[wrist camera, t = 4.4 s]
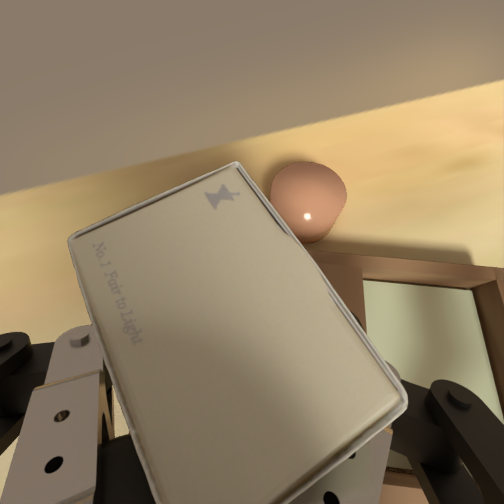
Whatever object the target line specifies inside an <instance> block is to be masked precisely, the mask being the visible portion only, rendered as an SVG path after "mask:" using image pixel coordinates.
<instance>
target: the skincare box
mask: <svg viewBox="0 0 504 504" xmlns="http://www.w3.org/2000/svg"><path fill="white" fill-rule="evenodd" d="M68 247H69V251H70V254H71V258H72V261H73V266H74V268H75V271H76V275H77V279H78V283H79V287H80V289H81V292H82V295H83V298H84V301H85V304H86V308H87V311H88V314H89V317H90V320H91V322H92V325H93V328H94V332H95V335H96V338H97V341H98V344H99V347H100V350H101V353H102V356H103V359H104V362H105V365H106V367H107V369H108V372H109V375H110V377H111V380H112V383H113V386H114V389H115V392H116V396H117V400H118V402H119V404H120V406H121V409H122V412H123V415H124V417H125V420H126V423H127V426H128V428H129V431H130V434H131V437H132V440H133V443H134V446H135V449H136V452H137V454H138V457H139V459H140V462H141V464H142V467H143V469H144V472H145V474H146V477H147V480H148V483H149V486H150V489H151V492H152V495H153V497H154V500H155V502H156V504H288V503H290V502H291V501H292V500H293V499H295V498H296V497H297V496H298V495H300V494H301V493H303V492H304V491H305V490H307V489H308V488H309V487H310V486H312V485H313V484H314V483H315V482H316V481H318V480H319V479H320V478H322V477H323V476H324V475H326V474H327V473H328V472H330V471H331V470H332V469H334V468H335V467H336V466H338V465H339V464H340V463H342V462H343V461H344V460H346V459H347V458H348V457H349V456H351V455H352V454H353V453H354V452H356V451H357V450H358V449H359V448H360V447H362V446H363V445H364V444H365V443H366V442H368V441H369V440H370V439H371V438H373V437H374V436H375V435H376V434H377V433H379V432H380V431H381V430H383V429H384V428H385V427H387V426H388V425H389V424H390V423H391V422H393V421H394V420H395V419H396V418H398V417H399V416H400V415H401V414H402V413H404V411H405V410H406V409H407V406H408V396H407V393H406V391H405V389H404V387H403V385H402V384H401V383H400V381H399V380H398V379H397V377H396V376H395V374H394V373H393V371H392V370H391V369H390V367H389V366H388V364H387V363H386V361H385V360H384V359H383V357H382V356H381V354H380V353H379V352H378V350H377V349H376V347H375V346H374V344H373V343H372V341H371V340H370V338H369V337H368V335H367V334H366V333H365V331H364V330H363V329H362V327H361V326H360V325H359V323H358V322H357V321H356V319H355V318H354V316H353V315H352V313H351V312H350V310H349V309H348V308H347V306H346V305H345V303H344V302H343V301H342V299H341V298H340V296H339V295H338V294H337V292H336V291H335V289H334V288H333V287H332V285H331V284H330V282H329V281H328V279H327V278H326V277H325V275H324V274H323V272H322V271H321V269H320V268H319V267H318V265H317V264H316V262H315V261H314V260H313V258H312V257H311V256H310V255H309V253H308V252H307V251H306V249H305V248H304V247H303V245H302V244H301V243H300V241H299V240H298V239H297V238H296V236H295V235H294V234H293V232H292V231H291V229H290V228H289V227H288V225H287V224H286V223H285V221H284V220H283V219H282V218H281V216H280V215H279V214H278V212H277V211H276V210H275V208H274V207H273V206H272V204H271V203H270V202H269V200H268V199H267V198H266V196H265V195H264V194H263V192H262V191H261V190H260V189H259V187H258V186H257V184H256V183H255V182H254V181H253V180H252V178H251V177H250V176H249V174H248V173H247V171H246V170H245V169H244V167H243V166H242V165H241V163H239V162H238V161H234V162H231V163H229V164H227V165H225V166H223V167H221V168H219V169H216V170H214V171H211V172H209V173H206V174H204V175H202V176H199V177H197V178H195V179H193V180H190V181H187V182H186V183H184V184H181V185H179V186H176V187H174V188H172V189H170V190H168V191H165V192H163V193H161V194H158V195H156V196H154V197H152V198H150V199H147V200H145V201H143V202H140V203H137V204H135V205H133V206H131V207H129V208H127V209H124V210H122V211H121V212H119V213H116V214H114V215H112V216H110V217H108V218H105V219H103V220H101V221H99V222H97V223H95V224H92V225H90V226H88V227H86V228H84V229H82V230H79V231H77V232H75V233H74V234H72V235H71V236H70V237H69V238H68Z"/></svg>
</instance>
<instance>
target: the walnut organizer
mask: <svg viewBox="0 0 504 504" xmlns="http://www.w3.org/2000/svg"><path fill="white" fill-rule="evenodd" d="M306 251H307V252H308V253H309V255H310V256H311V257H312V258H313V260H314V261H315V262H316V264H317V265H318V267H319V268H320V269H321V271H322V272H323V274H324V275H325V277H326V278H327V279H328V281H329V282H330V284H331V285H332V287H333V288H334V289H335V291H336V292H337V294H338V295H339V296H340V298H341V299H342V301H343V302H344V303H345V305H346V306H347V308H348V309H349V310H350V311H351V312H352V313H354V314H355V315H356V316H357V317H358V319H359V320H360V322H361V324H362V327H363V328H364V330H365V332H366V334H367V335H368V337H369V338H370V340H371V341H372V343H373V344H374V346H375V347H376V349H377V350H378V352H379V353H380V354H381V356H382V357H383V359H384V360H385V361H387V362H388V363H390V364H391V365H392V366H393V367H394V368H395V369H396V370H397V371H398V373H399V375H400V378H401V379H403V380H405V381H408V382H410V383H413V384H416V385H419V386H422V387H425V388H428V389H429V388H430V386H431V384H432V382H433V381H435V380H439V379H444V380H449V381H453V382H455V383H458V384H460V385H462V386H464V387H466V388H467V389H469V390H471V391H472V392H473V393H475V394H476V395H477V396H478V397H479V398H480V399H481V400H482V401H483V402H484V403H485V404H486V405H487V406H488V408H489V409H490V410H491V411H492V412H493V413H494V414H495V415H496V417H497V418H498V419H499V420H500V421H501V422H502V423H503V424H504V268H497V267H486V266H475V265H464V264H453V263H442V262H431V261H420V260H409V259H398V258H387V257H376V256H365V255H354V254H343V253H332V252H321V251H310V250H306ZM363 278H364V279H375V280H386V281H396V282H407V283H417V284H428V285H438V286H449V287H460V288H470V289H471V291H470V290H459V289H449V288H438V287H428V286H417V285H407V284H396V283H386V282H375V281H365V280H363ZM129 434H130V431H129ZM463 464H464V463H463ZM464 466H465V464H464ZM386 467H394V468H402V469H410V470H413V469H412V467H411V465H410V463H409V461H408V459H407V457H406V456H404V455H402V454H400V453H397V452H395V451H393V450H390V449H389V454H388V459H387V464H386ZM465 468H466V469H467V467H466V466H465ZM467 471H468V469H467ZM468 472H469V471H468ZM469 474H470V472H469ZM470 475H471V474H470ZM471 477H472V475H471ZM475 483H476V482H475ZM476 485H477V483H476ZM477 486H478V485H477ZM478 488H479V486H478ZM479 489H480V488H479ZM480 491H481V490H480ZM378 504H429V503H428V501H427V499H426V496H425V494H424V492H423V490H422V488H421V486H420V484H419V482H418V480H417V477H416V475H415V474H409V473H401V472H393V471H385V474H384V479H383V484H382V489H381V494H380V498H379V503H378Z"/></svg>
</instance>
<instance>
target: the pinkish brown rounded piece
mask: <svg viewBox="0 0 504 504" xmlns="http://www.w3.org/2000/svg"><path fill="white" fill-rule="evenodd" d="M346 198H347V193H346V188H345V185H344V183H343V181H342V180H341V178H340V177H339V176H338V175H337V174H336V173H335V172H334V171H333V170H331V169H330V168H328V167H326V166H324V165H321V164H318V163H314V162H298V163H294V164H291V165H288V166H286V167H284V168H283V169H282V170H280V171H279V172H278V173H277V175H276V176H275V178H274V179H273V182H272V186H271V194H270V203H271V204H272V206H273V207H274V208H275V210H276V211H277V212H278V214H279V215H280V216H281V218H282V219H283V220H284V221H285V223H286V224H287V225H288V227H289V228H290V229H291V231H292V232H293V234H294V235H295V236H296V238H297V239H298V240H299V241H300V243H301V244H306V243H313V242H316V241H318V240H320V239H322V238H323V237H325V236H326V235H327V234H328V233H329V231H330V230H331V228H332V226H333V225H334V223H335V221H336V220H337V218H338V216H339V214H340V213H341V211H342V209H343V207H344V205H345V203H346Z"/></svg>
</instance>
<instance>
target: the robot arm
mask: <svg viewBox="0 0 504 504" xmlns="http://www.w3.org/2000/svg"><path fill="white" fill-rule="evenodd" d="M350 312H351V311H350ZM351 313H352V312H351ZM352 315H353V316H354V318H355V319H356V321H357V322H358V323H359V325H360V326H361V327H362V324H361V322H360V320H359V319H358V317H357V316H356V315H355V314H354V313H352ZM362 329H363V330H364V328H363V327H362ZM364 331H365V330H364ZM365 333H366V332H365ZM386 363H387V364H388V366H389V367H390V369H391V370H392V371H393V373H394V374H395V376H396V377H397V379H398V380H399V381H400V383H401V384H402V385H403V387H404V389H405V391H406V393H407V396H408V406H407V409H406V410H405V411H404V413H402V414H401V415H400V416H399V417H398V418H396V419H395V420H394V421H393V422H391V423H390V424H389V425H388V426H387V427H385V428H384V429H383V430H381V431H380V432H379V433H377V434H376V435H375V436H374V437H373V438H371V439H370V440H369V441H368V442H366V443H365V444H364V445H363V446H362V447H360V448H359V449H358V450H357V451H356V452H354V453H353V454H352V455H351V456H349V457H348V458H347V459H346V460H344V461H343V462H342V463H340V464H339V465H338V466H336V467H335V468H334V469H332V470H331V471H330V472H328V473H327V474H326V475H324V476H323V477H322V478H320V479H319V480H318V481H316V482H315V483H314V484H313V485H312V486H310V487H309V488H308V489H307V490H305V491H304V492H303V493H301V494H300V495H298V496H297V497H296V498H295V499H293V500H292V501H291V502H290V503H288V504H378V503H379V498H380V494H381V489H382V484H383V479H384V474H385V469H386V464H387V459H388V454H389V449H390V450H393V451H395V452H397V453H400V454H402V455H404V456H406V457H407V459H408V461H409V463H410V465H411V467H412V469H413V471H414V473H415V475H416V477H417V480H418V482H419V484H420V486H421V488H422V490H423V492H424V494H425V496H426V499H427V501H428V503H429V504H504V424H503V423H502V422H501V421H500V420H499V419H498V418H497V417H496V415H495V414H494V413H493V412H492V411H491V410H490V409H489V408H488V406H487V405H486V404H485V403H484V402H483V401H482V400H481V399H480V398H479V397H478V396H477V395H476V394H475V393H473V392H472V391H471V390H469V389H467V388H466V387H464V386H462V385H460V384H458V383H455V382H453V381H449V380H444V379H439V380H435V381H433V382H432V384H431V386H430V388H429V389H428V388H425V387H422V386H419V385H416V384H413V383H410V382H408V381H405V380H403V379H401V378H400V375H399V373H398V371H397V370H396V369H395V368H394V367H393V366H392V365H391V364H390V363H388V362H387V361H386ZM112 385H113V383H112V380H111V377H110V375H109V372H108V369H107V367H106V365H105V362H104V359H103V356H102V353H101V350H100V347H99V344H98V341H97V338H96V335H95V332H94V328H93V325H92V324H91V325H85V326H80V327H76V328H73V329H71V330H69V331H67V332H65V333H63V334H62V335H61V336H60V337H59V338H58V339H57V340H56V341H55V342H50V343H41V344H32V345H31V342H30V339H29V336H28V335H27V334H26V333H22V332H11V333H5V334H1V335H0V455H1V454H2V453H3V452H4V451H5V450H6V449H7V448H8V447H9V446H10V445H11V444H12V442H13V441H14V440H15V439H16V438H17V437H18V436H19V438H18V442H17V445H16V449H15V452H14V455H13V459H12V462H11V466H10V469H9V472H8V476H7V479H6V482H5V486H4V489H3V493H2V496H1V499H0V504H156V502H155V500H154V497H153V495H152V492H151V489H150V486H149V483H148V480H147V477H146V474H145V472H144V469H143V467H142V464H141V462H140V459H139V457H138V454H137V452H136V449H135V446H134V443H133V440H132V437H131V434H127V435H123V436H119V437H116V438H115V432H114V396H113V386H112ZM463 463H464V464H465V466H466V467H467V469H468V471H469V472H470V474H471V475H472V477H473V478H474V480H475V481H476V483H477V485H478V486H479V488H480V489H479V488H478V486H477V485H476V483H475V482H474V480H473V478H472V477H471V475H470V474H469V472H468V471H467V469H466V468H465V466H464V464H463ZM480 490H481V491H480Z"/></svg>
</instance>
